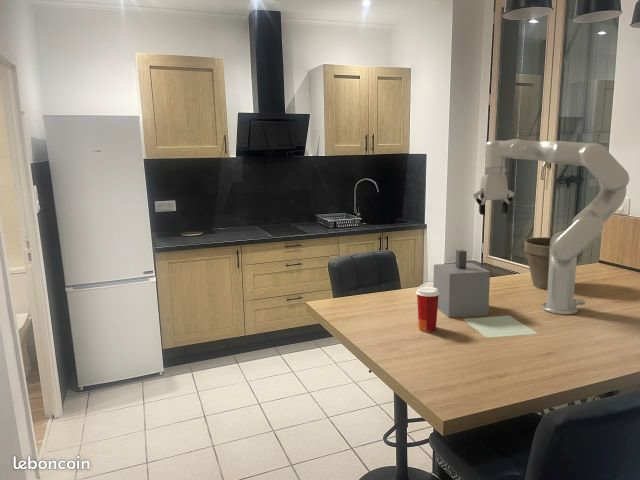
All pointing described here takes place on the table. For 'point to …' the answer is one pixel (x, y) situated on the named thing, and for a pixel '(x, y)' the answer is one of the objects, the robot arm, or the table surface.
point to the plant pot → (539, 260)
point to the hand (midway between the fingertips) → (493, 213)
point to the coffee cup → (427, 308)
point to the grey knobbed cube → (462, 288)
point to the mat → (499, 326)
